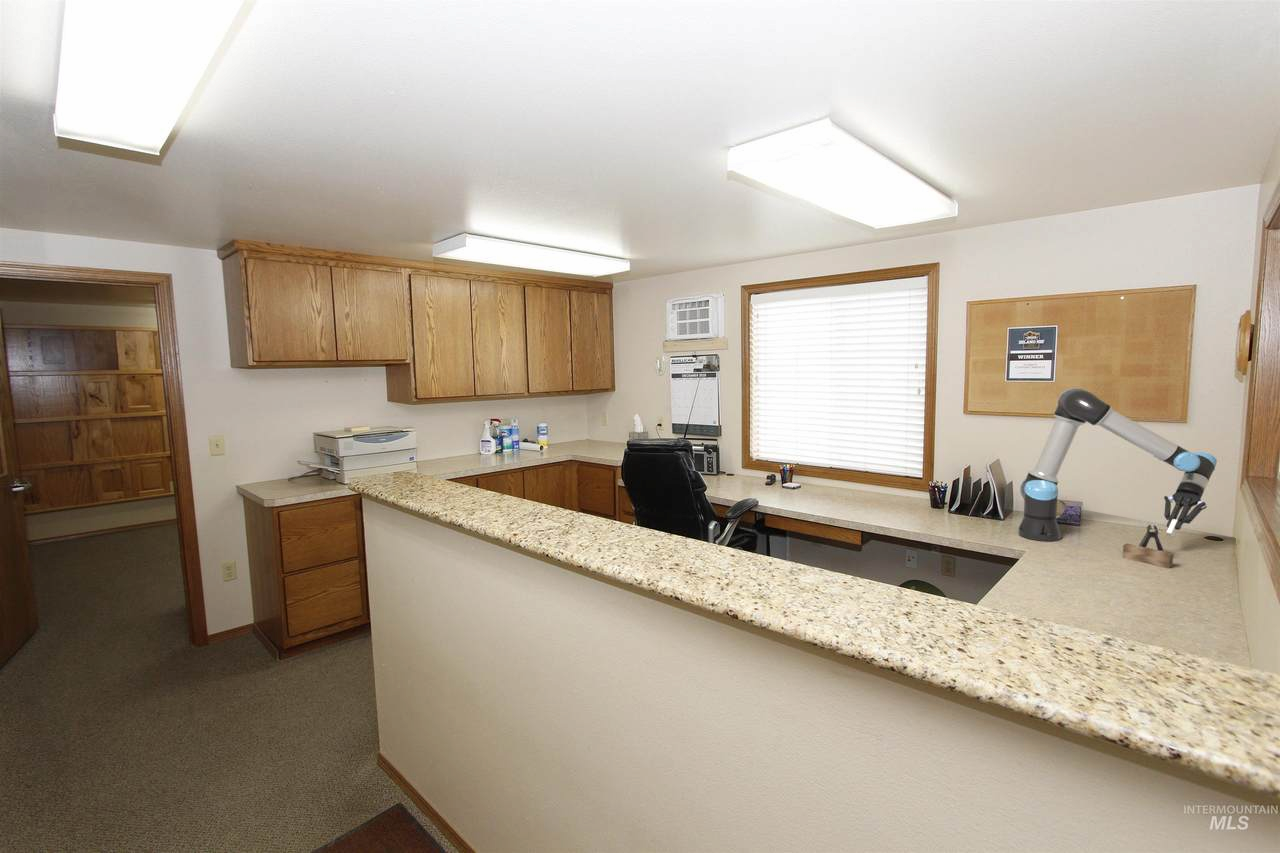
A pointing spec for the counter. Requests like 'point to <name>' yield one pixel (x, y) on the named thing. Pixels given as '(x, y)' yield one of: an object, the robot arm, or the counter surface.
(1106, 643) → the counter surface
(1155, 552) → the block
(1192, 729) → the counter surface
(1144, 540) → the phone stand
